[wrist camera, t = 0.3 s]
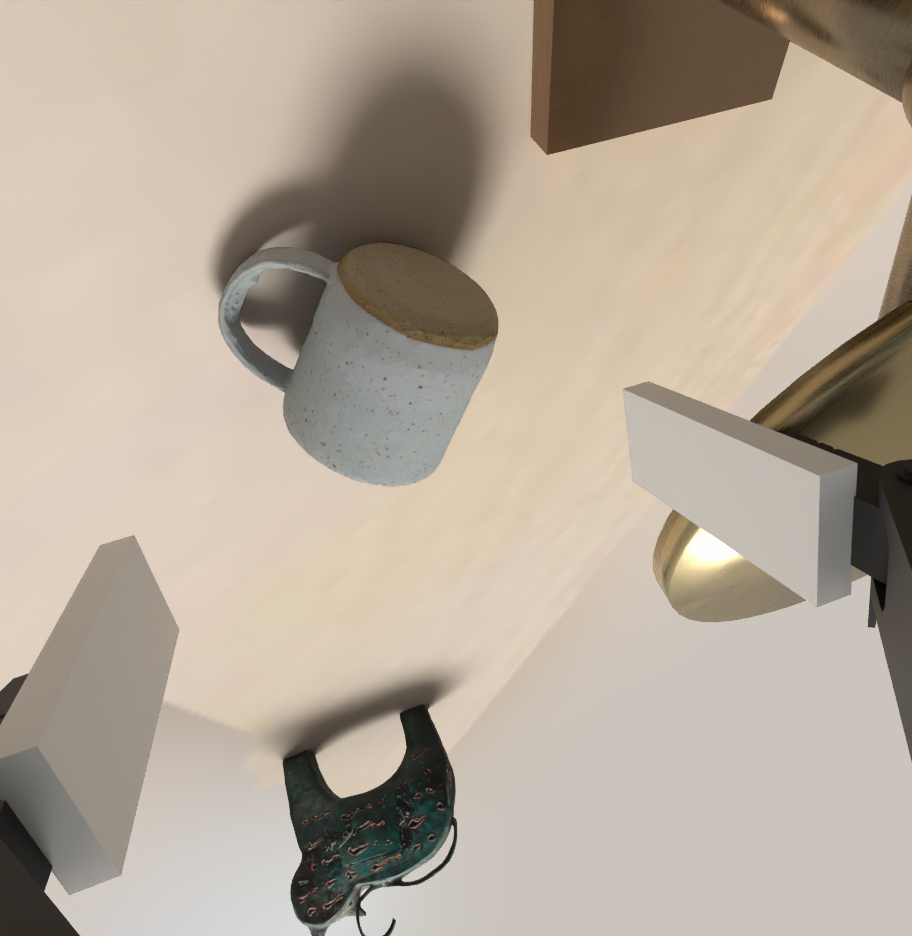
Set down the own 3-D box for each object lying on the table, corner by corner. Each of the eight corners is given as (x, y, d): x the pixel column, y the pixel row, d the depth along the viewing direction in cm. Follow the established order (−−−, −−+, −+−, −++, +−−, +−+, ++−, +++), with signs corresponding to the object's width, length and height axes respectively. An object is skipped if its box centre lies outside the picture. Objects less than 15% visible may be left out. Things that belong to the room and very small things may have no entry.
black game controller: (282, 772, 76) (314, 972, 65) (261, 762, 71) (291, 977, 59) (435, 710, 78) (493, 895, 66) (425, 696, 73) (487, 894, 61)
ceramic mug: (477, 250, 29) (542, 358, 24) (413, 385, 34) (457, 495, 29) (234, 189, 23) (259, 312, 19) (203, 360, 29) (217, 489, 24)
